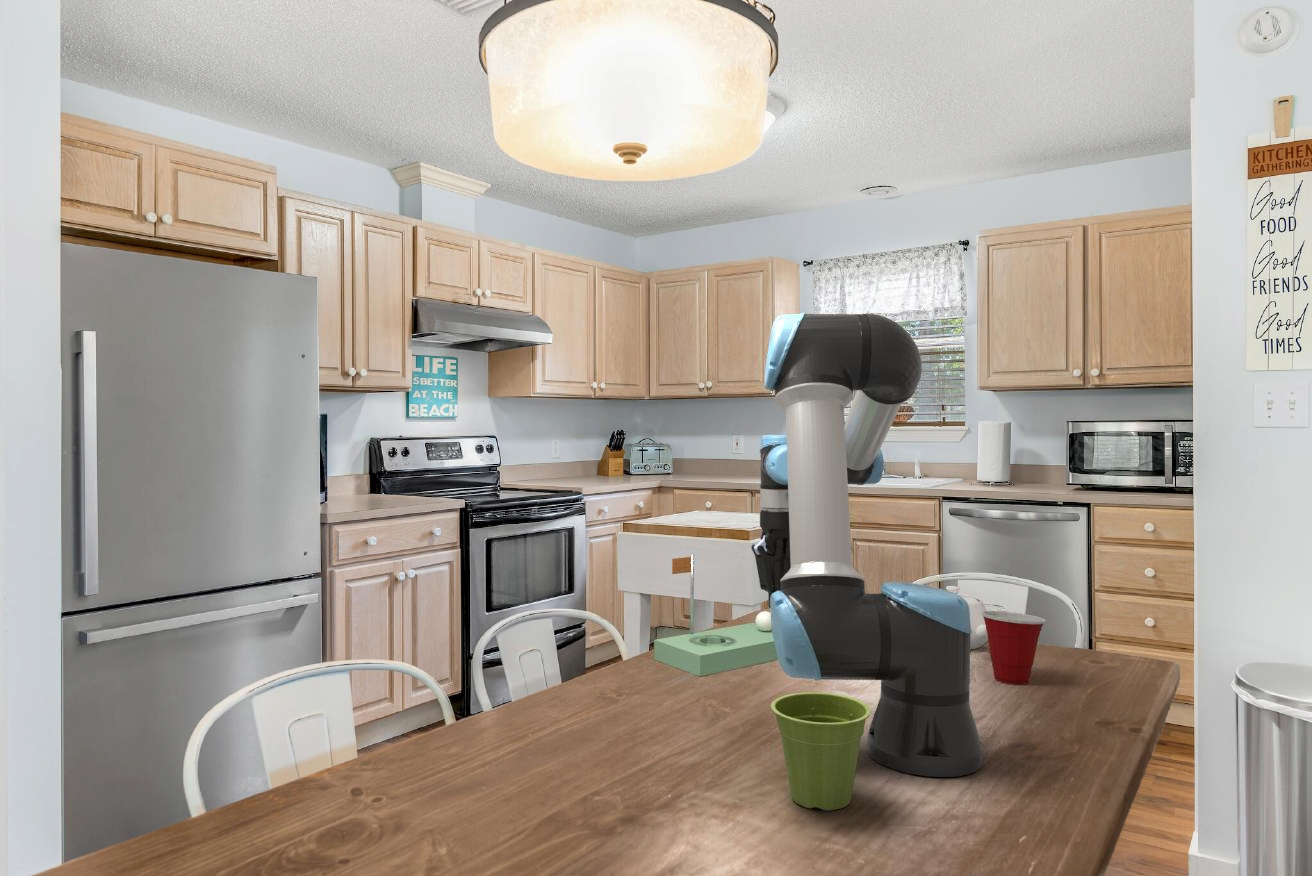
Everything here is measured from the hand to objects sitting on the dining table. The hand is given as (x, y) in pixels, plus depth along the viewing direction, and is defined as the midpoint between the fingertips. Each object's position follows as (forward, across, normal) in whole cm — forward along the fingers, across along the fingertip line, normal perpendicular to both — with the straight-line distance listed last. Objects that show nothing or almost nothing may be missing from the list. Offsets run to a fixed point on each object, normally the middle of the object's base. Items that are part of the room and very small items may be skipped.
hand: (777, 623), depth 176 cm
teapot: (+5, +33, -20) cm, 39 cm away
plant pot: (+5, -47, -55) cm, 73 cm away
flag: (+1, -20, +6) cm, 21 cm away
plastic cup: (+5, +19, -41) cm, 45 cm away
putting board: (+5, -10, 0) cm, 11 cm away
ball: (-1, -3, 0) cm, 3 cm away
